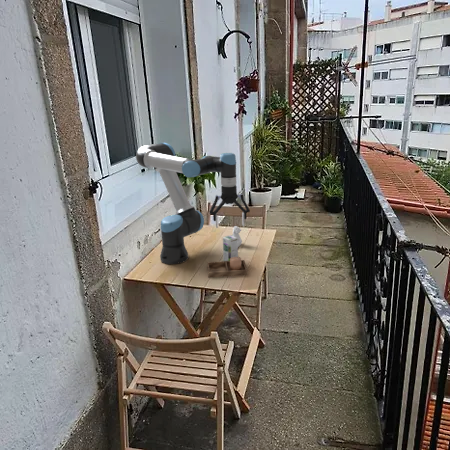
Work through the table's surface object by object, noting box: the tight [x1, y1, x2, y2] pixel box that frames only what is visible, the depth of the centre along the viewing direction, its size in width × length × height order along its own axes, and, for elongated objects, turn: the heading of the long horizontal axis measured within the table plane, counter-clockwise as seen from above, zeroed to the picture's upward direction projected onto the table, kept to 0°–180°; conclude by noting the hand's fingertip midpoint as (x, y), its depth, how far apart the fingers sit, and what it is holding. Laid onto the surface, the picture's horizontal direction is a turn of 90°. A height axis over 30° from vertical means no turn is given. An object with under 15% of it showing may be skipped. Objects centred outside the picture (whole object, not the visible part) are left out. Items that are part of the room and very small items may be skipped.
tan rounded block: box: [230, 256, 242, 271], centre depth 187 cm, size 6×6×6 cm
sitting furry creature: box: [232, 225, 243, 248], centre depth 220 cm, size 10×9×12 cm
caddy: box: [206, 259, 248, 278], centre depth 188 cm, size 19×12×4 cm, turn 95°
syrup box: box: [222, 234, 239, 261], centre depth 197 cm, size 6×6×14 cm
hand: (230, 226), depth 192 cm, fingers open, 13 cm apart
